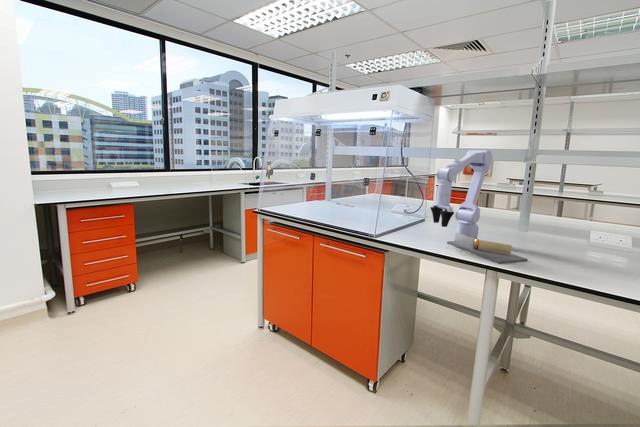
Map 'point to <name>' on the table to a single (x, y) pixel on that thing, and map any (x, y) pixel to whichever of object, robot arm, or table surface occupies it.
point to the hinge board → (490, 254)
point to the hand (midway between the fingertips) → (440, 224)
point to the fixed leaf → (464, 240)
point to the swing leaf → (492, 246)
